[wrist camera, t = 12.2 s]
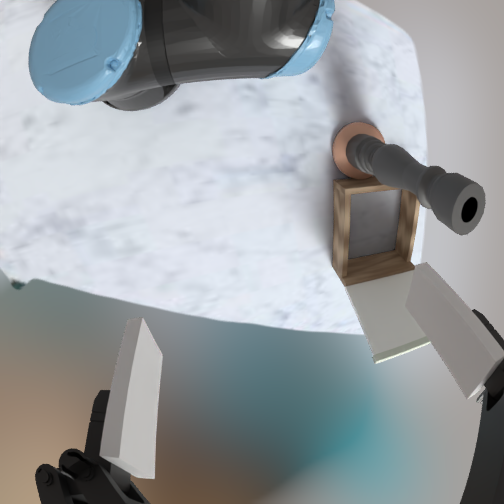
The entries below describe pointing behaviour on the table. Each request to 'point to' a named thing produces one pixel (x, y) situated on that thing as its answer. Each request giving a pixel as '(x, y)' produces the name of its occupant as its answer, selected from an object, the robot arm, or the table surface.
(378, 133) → the saucer
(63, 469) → the robot arm
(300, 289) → the table surface
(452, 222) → the candle holder
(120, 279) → the table surface
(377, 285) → the frame lid
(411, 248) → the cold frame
